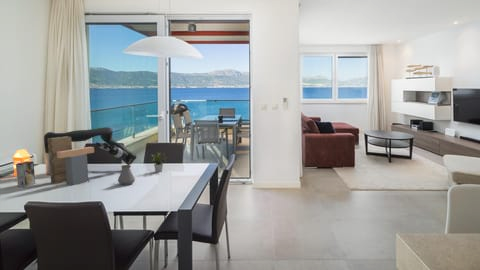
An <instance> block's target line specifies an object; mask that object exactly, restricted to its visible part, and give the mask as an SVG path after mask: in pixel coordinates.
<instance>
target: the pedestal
mask: <svg viewBox="0 0 480 270" xmlns="http://www.w3.org/2000/svg"><path fill="white" fill-rule="evenodd" d="M65 160H66V174H67V181H66V185H70V186H75V185H79V184H83V183H88V182H89V172H88V171H89V169H88V154H83V155H77V156H71V157H65ZM87 181H88V182H87Z"/></svg>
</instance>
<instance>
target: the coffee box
mask: <svg viewBox="0 0 480 270" xmlns="http://www.w3.org/2000/svg"><path fill="white" fill-rule="evenodd" d="M34 165H35V164H34V161H30V162H22V163H18V164H16V172H17V176H16V180H17V187H20V188H22V187H23V188H24V187H25V188H26V187H29V186H32V185H35V184H36V176H35V167H34Z"/></svg>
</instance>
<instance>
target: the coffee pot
mask: <svg viewBox="0 0 480 270" xmlns="http://www.w3.org/2000/svg"><path fill="white" fill-rule="evenodd" d="M130 162H131V159H130V160H129V163H128V165H127V164H125V165H124V164H122V165H121V166H120V167H121V170H120V174H119V176H118V178H117V182H118V183H119V184H120V185H121V186H130V185H132V184H133V183H134V182H135V180H136V179H135V177H134V174H133V172H132V170H131V165H132V164H130Z"/></svg>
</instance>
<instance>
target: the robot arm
mask: <svg viewBox="0 0 480 270" xmlns="http://www.w3.org/2000/svg"><path fill="white" fill-rule="evenodd" d="M113 132H114V130H113V129H112V128H111V127H98V128H92V129H91V128H90V129H80V130H79V129H78V130H71V131H68V132H52V131H48V132H46V133H45V134H44V135H43V146H44V152H45V171H46V175H49V176H50V163H49V150H48V138H57V137H65V136H67V137H71V141H72V143H77V142H79V143H80V142H86V141H88V140H91V139H92V138H95V137H100V139H101V140H102V141H103V142H104V143H103V144H102V143H100V142H98V141H96V142H95V145H96V146H97V147H98V148H99V149H102V150H103V151H104V150H105V151H107V153H108V154H109V155H111V156H114V157H115V158H118V159H120V160H121V161H123V162H124V163H125V165H128V163H129V160H130V159H131V162H130V165H132V164H133V163H134V162H135V160H136V159H137V154H135V153H134V152H133V151H132V152H131V151H130V150H129V149H127V147H125V146H124V145H123V144H122V143H120V142H118V141H115V140H114V138H113Z"/></svg>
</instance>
